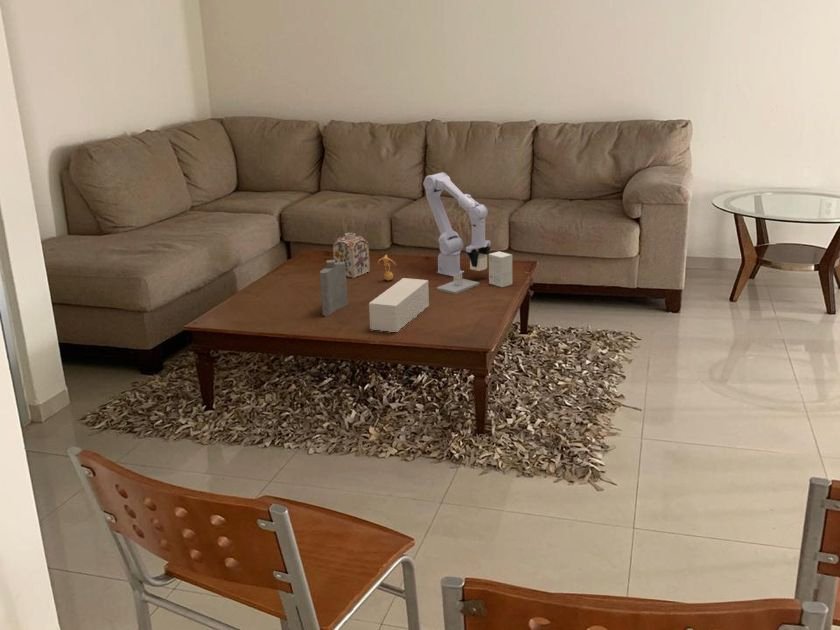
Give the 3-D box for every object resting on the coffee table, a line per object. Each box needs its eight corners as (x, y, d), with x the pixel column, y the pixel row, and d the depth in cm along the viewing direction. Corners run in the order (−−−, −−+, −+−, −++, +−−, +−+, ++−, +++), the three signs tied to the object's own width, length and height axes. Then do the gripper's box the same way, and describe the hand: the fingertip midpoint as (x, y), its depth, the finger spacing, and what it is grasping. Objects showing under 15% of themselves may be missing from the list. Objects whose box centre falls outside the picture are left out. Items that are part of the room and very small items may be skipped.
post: (453, 285, 370) (453, 273, 368) (457, 283, 372) (457, 272, 370) (458, 286, 368) (458, 274, 366) (462, 284, 370) (462, 273, 368)
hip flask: (328, 316, 340) (324, 266, 334) (319, 315, 342) (315, 265, 335) (349, 304, 354) (346, 256, 347) (340, 303, 355) (337, 255, 349)
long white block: (404, 303, 353) (403, 277, 349) (429, 306, 349) (428, 280, 346) (370, 330, 325) (368, 303, 321) (397, 333, 321) (395, 305, 318)
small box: (512, 284, 372) (512, 254, 367) (501, 287, 368) (501, 257, 363) (499, 280, 377) (499, 250, 373) (488, 283, 374) (488, 253, 369)
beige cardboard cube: (470, 268, 378) (469, 255, 376) (477, 266, 382) (477, 252, 380) (479, 271, 375) (479, 257, 373) (487, 268, 379) (487, 254, 377)
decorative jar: (350, 268, 402) (348, 229, 396) (370, 271, 395) (368, 232, 389) (333, 274, 393) (330, 235, 387) (353, 278, 386) (351, 238, 380)
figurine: (399, 279, 383) (398, 252, 379) (394, 283, 378) (393, 256, 374) (381, 278, 385) (380, 251, 381) (376, 282, 380) (375, 255, 376)
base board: (436, 289, 368) (436, 287, 367) (460, 280, 379) (460, 278, 379) (455, 294, 361) (455, 291, 361) (479, 284, 373) (479, 282, 372)
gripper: (475, 238, 366) (475, 270, 370) (496, 231, 376) (496, 262, 380) (461, 236, 370) (462, 267, 375) (483, 229, 380) (483, 259, 385)
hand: (478, 264), depth 378 cm, fingers closed on beige cardboard cube, 5 cm apart
